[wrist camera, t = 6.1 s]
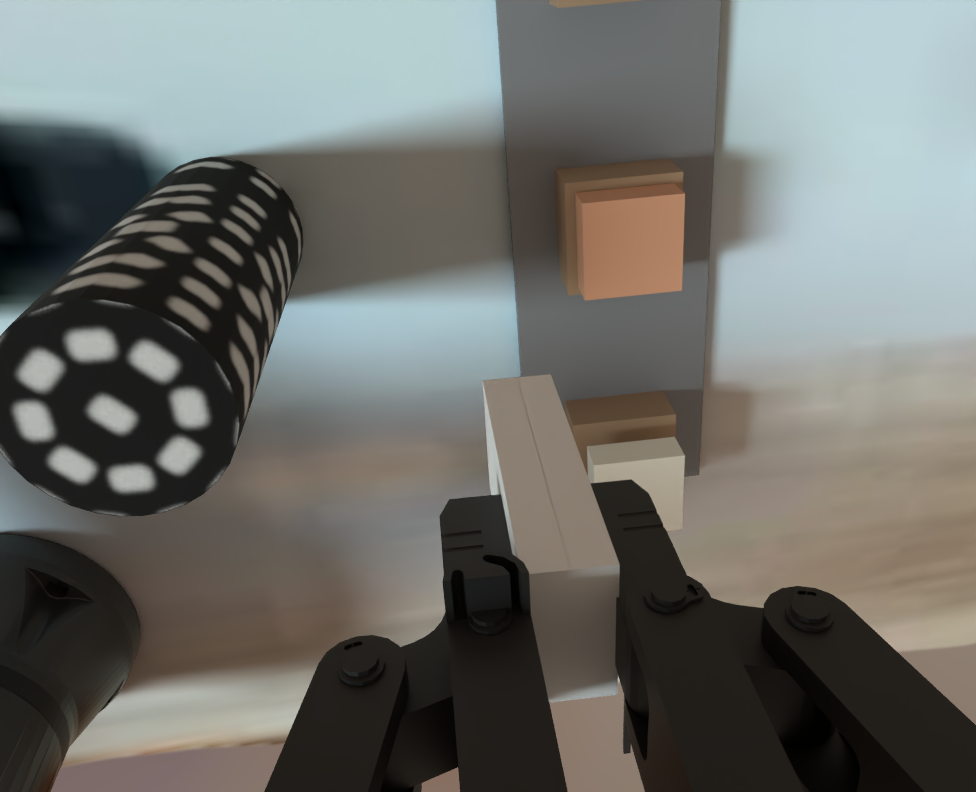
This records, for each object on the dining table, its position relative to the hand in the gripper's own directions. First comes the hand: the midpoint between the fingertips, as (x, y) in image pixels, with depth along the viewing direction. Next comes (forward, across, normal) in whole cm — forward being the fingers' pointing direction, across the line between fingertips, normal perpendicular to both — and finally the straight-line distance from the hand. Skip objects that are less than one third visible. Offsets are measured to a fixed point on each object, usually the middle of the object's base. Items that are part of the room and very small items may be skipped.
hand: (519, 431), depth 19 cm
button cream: (+27, +9, -18) cm, 34 cm away
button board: (+30, +9, -4) cm, 31 cm away
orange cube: (+29, +9, -4) cm, 30 cm away
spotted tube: (+30, -12, -4) cm, 33 cm away
